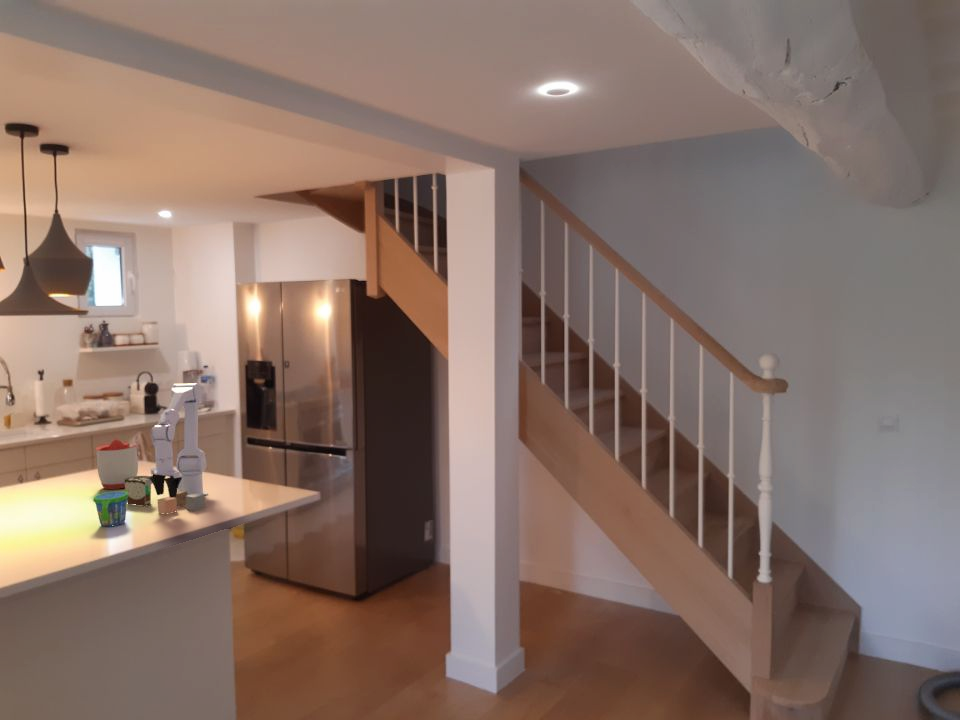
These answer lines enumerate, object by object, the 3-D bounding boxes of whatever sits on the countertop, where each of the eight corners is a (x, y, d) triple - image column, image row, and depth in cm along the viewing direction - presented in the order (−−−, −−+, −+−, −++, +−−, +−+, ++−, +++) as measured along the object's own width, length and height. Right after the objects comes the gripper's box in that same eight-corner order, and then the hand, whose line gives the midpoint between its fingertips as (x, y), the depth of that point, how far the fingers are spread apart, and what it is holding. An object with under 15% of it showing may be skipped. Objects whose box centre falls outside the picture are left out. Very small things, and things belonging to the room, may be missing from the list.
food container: (161, 502, 276) (159, 476, 276) (148, 506, 271) (146, 480, 270) (138, 499, 282) (136, 474, 281) (124, 504, 276) (122, 477, 275)
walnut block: (170, 506, 271) (169, 492, 271) (180, 503, 275) (180, 490, 275) (177, 507, 269) (176, 494, 269) (188, 504, 273) (187, 491, 272)
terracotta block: (158, 513, 262) (157, 499, 262) (169, 510, 266) (168, 496, 265) (165, 514, 260) (164, 501, 259) (177, 511, 263) (176, 498, 263)
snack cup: (119, 530, 243) (117, 500, 242) (86, 531, 242) (84, 501, 241) (137, 516, 258) (135, 488, 257) (106, 518, 257) (104, 489, 256)
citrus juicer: (151, 483, 309) (148, 436, 307) (112, 492, 294) (108, 443, 292) (129, 479, 317) (126, 433, 315) (90, 488, 302) (86, 440, 301)
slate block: (186, 509, 266) (185, 495, 266) (197, 506, 270) (196, 493, 269) (194, 511, 263) (193, 497, 263) (205, 508, 267) (204, 494, 267)
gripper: (142, 458, 262) (144, 495, 263) (166, 462, 254) (168, 500, 255) (160, 454, 268) (162, 491, 269) (184, 458, 260) (186, 496, 261)
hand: (166, 495), depth 262 cm, fingers open, 7 cm apart
